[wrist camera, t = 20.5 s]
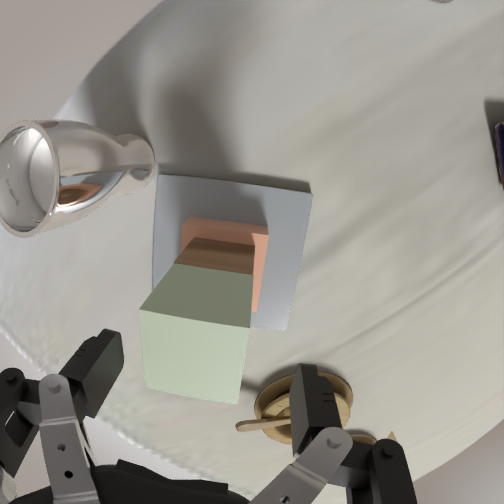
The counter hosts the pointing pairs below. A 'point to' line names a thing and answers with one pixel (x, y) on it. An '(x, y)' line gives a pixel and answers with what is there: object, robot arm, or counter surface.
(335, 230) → the counter surface
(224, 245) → the block
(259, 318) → the plate
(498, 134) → the purple clover wallet
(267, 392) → the tableware set
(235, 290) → the block
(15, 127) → the beer glass
